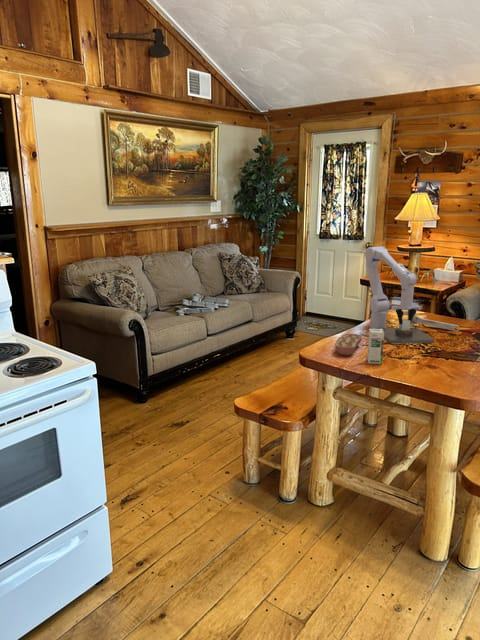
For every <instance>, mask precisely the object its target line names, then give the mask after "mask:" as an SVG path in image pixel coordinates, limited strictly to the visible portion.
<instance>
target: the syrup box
mask: <svg viewBox="0 0 480 640" xmlns="http://www.w3.org/2000/svg"><path fill="white" fill-rule="evenodd" d="M384 341H385V339H384V331H383V329H371V328H369V329H368V344H367V357H366V360H367V362H368V364H370V365H371V364H372V365H373V364H375V365H382V364H383V358H384V357H383V355H384V354H383V353H384Z"/></svg>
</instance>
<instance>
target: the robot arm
mask: <svg viewBox="0 0 480 640" xmlns="http://www.w3.org/2000/svg"><path fill="white" fill-rule="evenodd" d="M388 251H389V250H388V249H387V248H386V247H385V246H384V245H381V246H369V247H367V248H366V250H365V252H364V257H365V267H366V272H367V276H368V281H369V284H370V289H371V294H372V296H371V298H370V299H369V302H370V305H369V309H370V311H371V314H370V318H369V319H370V320H369V322H370V324H368V327H369V329H376V328H387V313H388V311H389V310H390V309H391V311H395V313H396V316H397V320H398V325H399V324H402V319H403V316H404V315H403V313H404V312H405V311H408V316H407V319H409V320H410V324H411V321H412V319H413V317H414V315H416V313H417V310H418V311H421V310H422V306H421V305H416V304H415V305H414V304H413V302H414V293H415V285H416V283H417V282H418V276H417V274H416V273H414V272H410V270H408V269H407V268H406V267H405V266H404V264H403V263H397V261H396V260H395V259H394V258H393V257H392V256H391V255H390V253H389V252H388ZM381 261H383V262H384V263H386V264H387V265H388V267H389V268H391V271H392V273H393V274H394V275H395V276H396V277H397V278H398V280H399V283H400V284H401V285H400V288H401V294H400V295H401V296H400V304H399V305H391V302H390V301H389V299H388V296H387V295H386V294H385V293H384V292H383V287H382V282H381V277H380V272H379V269H378V264H379V263H380V262H381Z"/></svg>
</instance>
